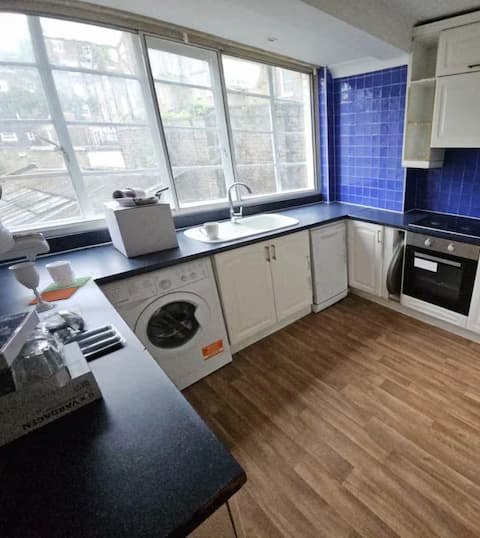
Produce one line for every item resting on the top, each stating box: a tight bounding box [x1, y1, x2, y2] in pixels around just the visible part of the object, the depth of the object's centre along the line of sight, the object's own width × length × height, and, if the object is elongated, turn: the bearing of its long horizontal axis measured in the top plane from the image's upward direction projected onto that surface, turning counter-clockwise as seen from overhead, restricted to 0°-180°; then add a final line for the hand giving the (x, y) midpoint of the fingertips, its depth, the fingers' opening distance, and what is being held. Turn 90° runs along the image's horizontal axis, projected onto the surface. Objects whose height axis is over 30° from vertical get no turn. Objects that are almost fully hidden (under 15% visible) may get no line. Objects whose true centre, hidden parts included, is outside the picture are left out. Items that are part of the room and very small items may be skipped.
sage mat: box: [42, 276, 90, 293], centre depth 133 cm, size 13×11×1 cm
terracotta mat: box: [28, 287, 79, 306], centre depth 123 cm, size 12×11×1 cm
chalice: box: [8, 261, 54, 313], centre depth 110 cm, size 7×7×18 cm
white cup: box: [44, 259, 77, 287], centre depth 131 cm, size 8×8×10 cm
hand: (11, 262), depth 94 cm, fingers open, 8 cm apart
